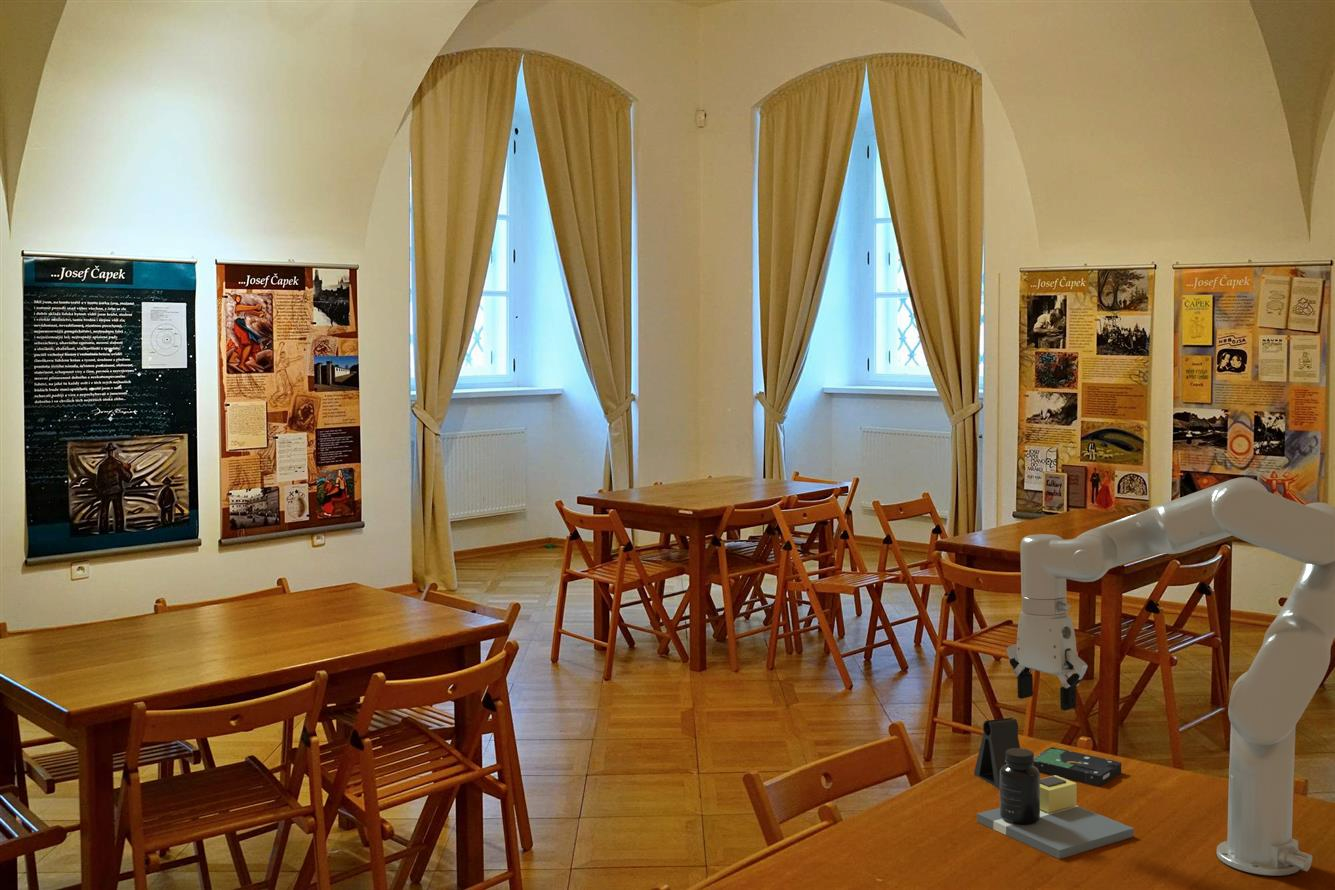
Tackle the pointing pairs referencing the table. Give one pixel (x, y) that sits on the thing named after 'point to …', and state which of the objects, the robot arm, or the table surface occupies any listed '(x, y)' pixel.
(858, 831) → the table surface
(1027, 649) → the robot arm
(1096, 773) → the disk drive
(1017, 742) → the phone stand
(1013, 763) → the supplement bottle
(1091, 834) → the board
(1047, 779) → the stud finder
